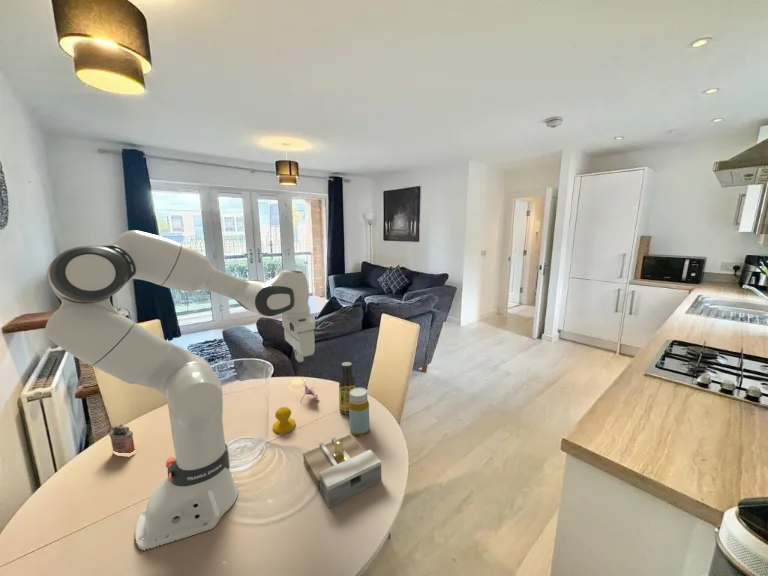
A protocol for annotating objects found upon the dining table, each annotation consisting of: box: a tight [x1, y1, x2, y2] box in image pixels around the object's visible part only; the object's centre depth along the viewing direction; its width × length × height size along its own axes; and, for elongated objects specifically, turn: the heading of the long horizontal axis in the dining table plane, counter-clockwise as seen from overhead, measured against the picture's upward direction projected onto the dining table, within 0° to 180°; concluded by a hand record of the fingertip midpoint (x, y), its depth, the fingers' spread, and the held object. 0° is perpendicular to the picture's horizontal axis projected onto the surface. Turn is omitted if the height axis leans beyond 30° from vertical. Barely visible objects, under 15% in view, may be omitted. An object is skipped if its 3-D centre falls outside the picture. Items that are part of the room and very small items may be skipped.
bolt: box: [334, 438, 347, 464], centre depth 90 cm, size 9×3×6 cm, turn 33°
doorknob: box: [272, 406, 297, 435], centre depth 115 cm, size 8×8×8 cm
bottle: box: [348, 387, 371, 437], centre depth 111 cm, size 7×7×15 cm
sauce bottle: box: [338, 361, 356, 415], centre depth 123 cm, size 7×6×20 cm
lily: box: [299, 377, 319, 404], centre depth 133 cm, size 12×12×10 cm
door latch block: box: [302, 434, 383, 509], centre depth 92 cm, size 20×16×6 cm
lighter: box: [108, 423, 136, 453], centre depth 102 cm, size 8×3×10 cm, turn 76°
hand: (299, 360), depth 102 cm, fingers closed
